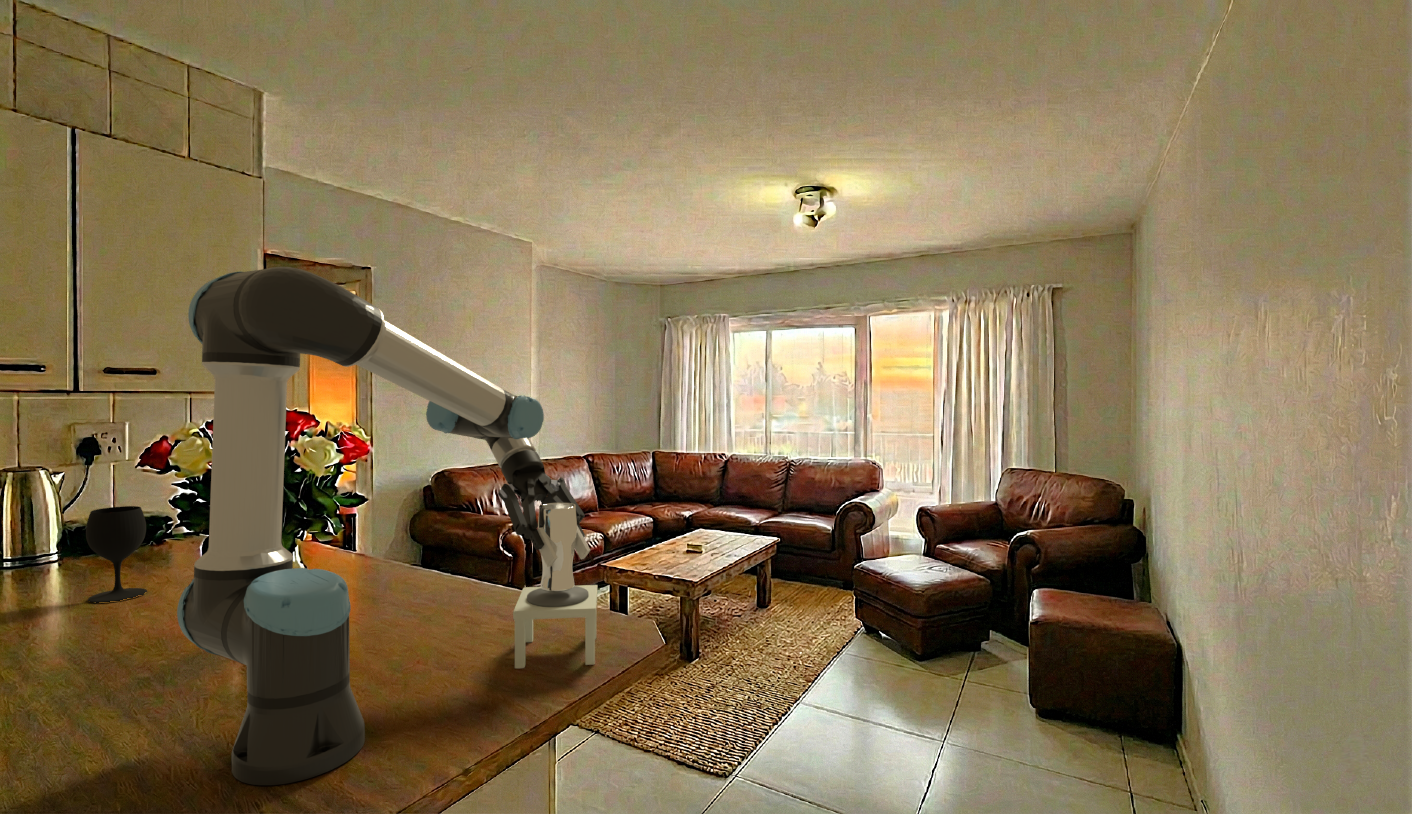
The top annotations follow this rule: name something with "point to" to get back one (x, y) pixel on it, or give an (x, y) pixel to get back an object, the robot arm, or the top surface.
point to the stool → (555, 615)
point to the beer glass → (559, 544)
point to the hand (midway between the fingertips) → (569, 558)
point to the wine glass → (116, 543)
